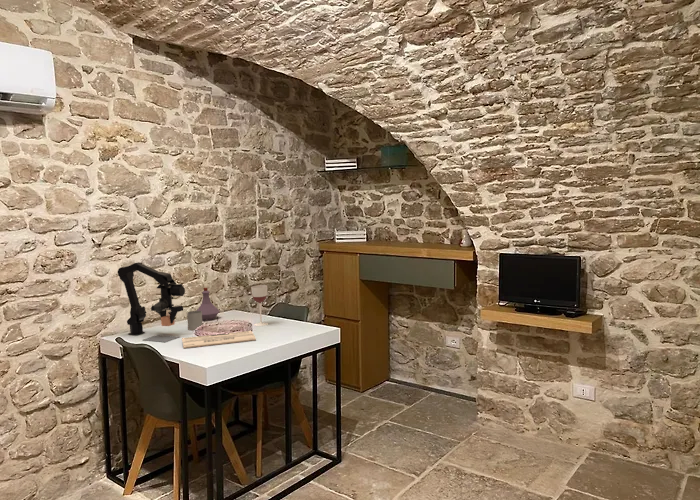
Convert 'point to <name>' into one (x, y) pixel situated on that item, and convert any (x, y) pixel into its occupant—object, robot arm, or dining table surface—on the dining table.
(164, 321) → the block
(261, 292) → the wineglass
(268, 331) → the dining table surface
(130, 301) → the robot arm
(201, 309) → the flask
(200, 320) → the cup
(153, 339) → the mat
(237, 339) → the wooden board
